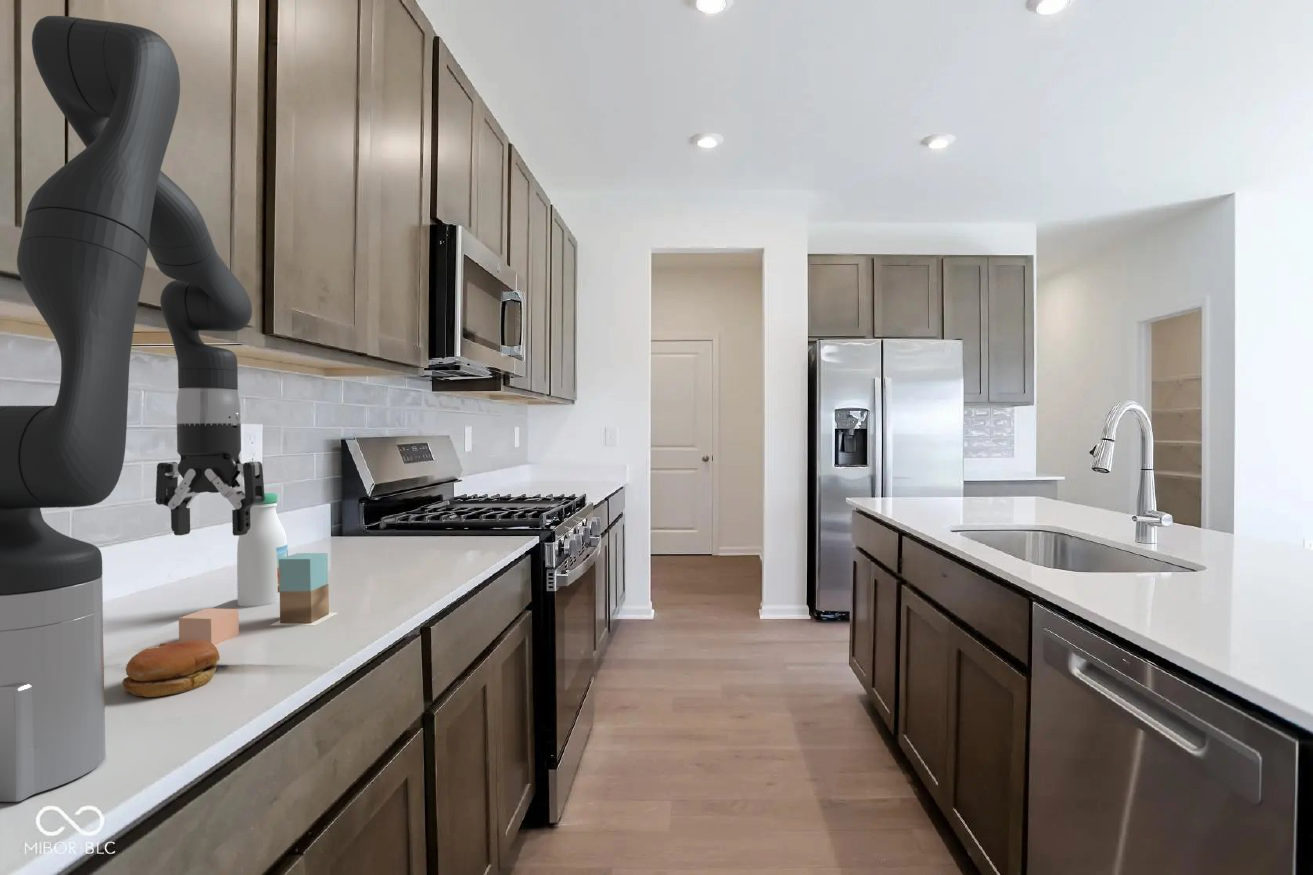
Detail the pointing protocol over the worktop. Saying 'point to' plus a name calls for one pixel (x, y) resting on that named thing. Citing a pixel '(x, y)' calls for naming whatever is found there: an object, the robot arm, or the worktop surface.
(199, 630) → the terracotta block
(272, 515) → the milk bottle
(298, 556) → the teal block
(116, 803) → the worktop surface
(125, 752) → the worktop surface
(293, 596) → the walnut block
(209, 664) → the burger
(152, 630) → the worktop surface
